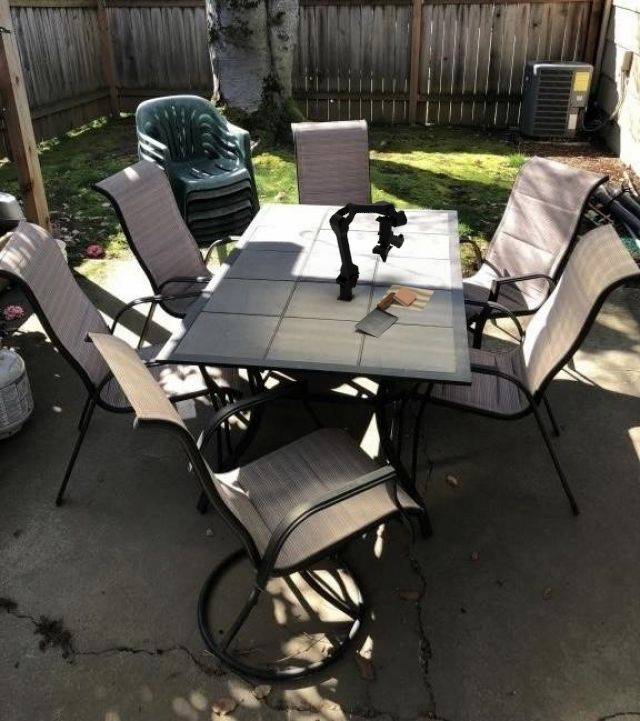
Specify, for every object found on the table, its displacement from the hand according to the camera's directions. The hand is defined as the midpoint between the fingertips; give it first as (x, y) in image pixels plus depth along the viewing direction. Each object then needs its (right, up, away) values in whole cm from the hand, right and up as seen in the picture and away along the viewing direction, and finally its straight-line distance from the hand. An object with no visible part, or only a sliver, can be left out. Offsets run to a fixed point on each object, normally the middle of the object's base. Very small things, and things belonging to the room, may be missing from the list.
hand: (384, 262), depth 301 cm
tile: (+11, -15, -8) cm, 20 cm away
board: (+9, -18, -7) cm, 21 cm away
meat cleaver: (-2, -27, -22) cm, 34 cm away
